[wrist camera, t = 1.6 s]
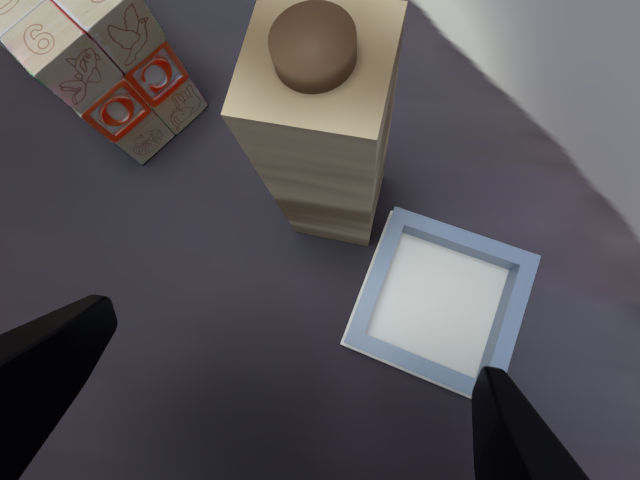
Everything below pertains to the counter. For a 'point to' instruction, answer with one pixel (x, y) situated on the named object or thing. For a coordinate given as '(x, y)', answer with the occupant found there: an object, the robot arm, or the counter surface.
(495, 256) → the blue square tray
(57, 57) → the stack of blocks
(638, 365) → the counter surface
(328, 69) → the maple pillar block
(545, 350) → the counter surface
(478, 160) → the counter surface
